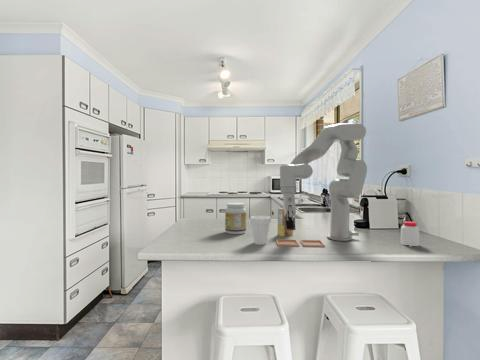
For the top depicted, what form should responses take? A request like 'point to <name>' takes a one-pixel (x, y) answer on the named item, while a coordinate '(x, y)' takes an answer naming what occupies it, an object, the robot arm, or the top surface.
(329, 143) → the robot arm
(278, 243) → the dish middle
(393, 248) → the top surface
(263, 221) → the cup
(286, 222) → the letter block
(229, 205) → the supplement tub
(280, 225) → the candy box
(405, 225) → the pill bottle
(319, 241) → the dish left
